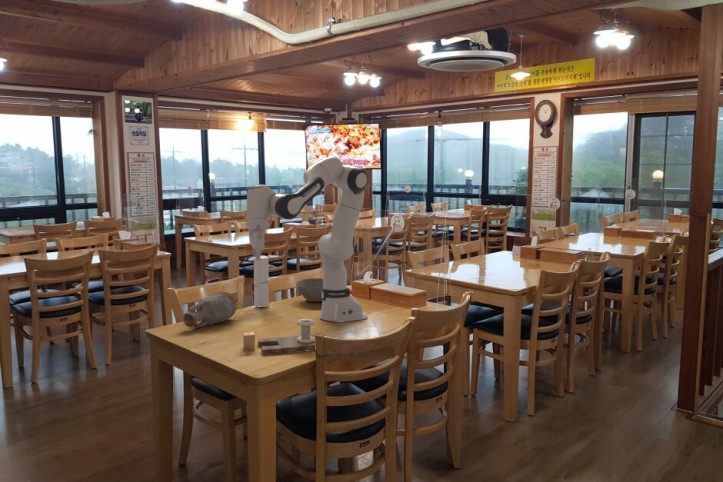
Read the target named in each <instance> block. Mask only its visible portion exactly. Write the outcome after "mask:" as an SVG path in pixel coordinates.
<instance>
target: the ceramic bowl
mask: <svg viewBox="0 0 723 482" xmlns="http://www.w3.org/2000/svg"><path fill="white" fill-rule="evenodd" d="M295 285H296V286H297V288H298V289H299V291H300V293H301V295H302V297H303V298H304V299H305V300H307V301H308V302H315V303H319V302H320V303H321V302H322V288H323V278H318V277H315V278H314V277H313V278H303V279H301V280H297V281H296V282H295Z"/></svg>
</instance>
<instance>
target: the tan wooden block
mask: <svg viewBox="0 0 723 482" xmlns="http://www.w3.org/2000/svg"><path fill="white" fill-rule="evenodd" d="M242 339H243V340H242V342H243V344H242V346H243V351H255V350H256V334H255V332H253V331H249V332H246V331H245V332H243V333H242Z"/></svg>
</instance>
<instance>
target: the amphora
mask: <svg viewBox="0 0 723 482" xmlns="http://www.w3.org/2000/svg"><path fill="white" fill-rule="evenodd" d="M238 301H239V299H238V298H236V297H234V295H232V293H229V292H228V291H222V290H221V291H217V292H215V293H212V294H210V295H209V296H205V297H204V298H202V299H200V300H199V301H198V303H196V304H194V305H192V306H190V307H189V309H188V311H187V312H185V313H184V314H183V315H182V321H183V324H184V325H185V326H186V327H187V328H194V329H198V328H202V327H204V326H205V327H206V326H212V325H215V324H219V323H222V322H224V321H227V320H229V319H230V318H232V317H233V316H234V315H235V314H236V312H237V308H238ZM195 310H196V311H195Z"/></svg>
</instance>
